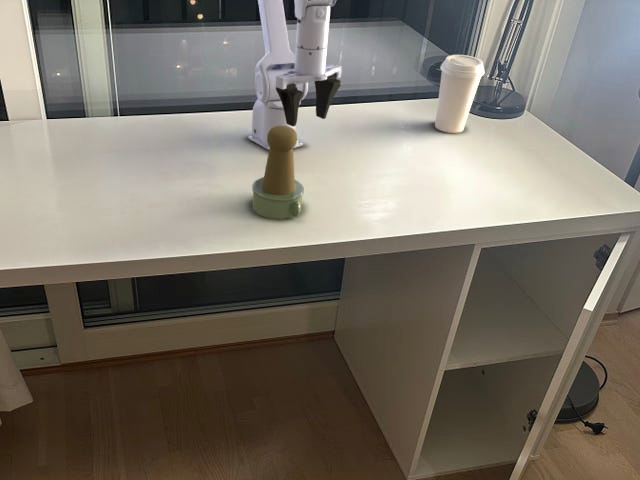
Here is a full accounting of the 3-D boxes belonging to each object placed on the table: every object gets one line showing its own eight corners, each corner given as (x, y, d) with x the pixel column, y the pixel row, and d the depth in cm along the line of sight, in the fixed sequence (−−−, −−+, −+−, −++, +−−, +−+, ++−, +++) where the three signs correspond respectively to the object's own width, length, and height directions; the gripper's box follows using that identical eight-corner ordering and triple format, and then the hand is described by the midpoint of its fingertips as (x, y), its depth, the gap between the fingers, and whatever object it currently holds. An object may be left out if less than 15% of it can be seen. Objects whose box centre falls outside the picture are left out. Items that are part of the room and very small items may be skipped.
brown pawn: (292, 197, 125) (297, 137, 118) (259, 192, 126) (262, 133, 119) (297, 182, 130) (302, 123, 122) (265, 178, 130) (268, 119, 123)
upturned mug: (241, 203, 131) (241, 183, 128) (280, 190, 135) (281, 171, 133) (276, 227, 125) (278, 207, 122) (316, 213, 129) (318, 193, 127)
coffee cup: (423, 119, 166) (436, 53, 157) (462, 119, 167) (477, 53, 158) (435, 135, 159) (450, 67, 149) (475, 135, 160) (493, 67, 150)
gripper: (295, 56, 121) (290, 134, 129) (355, 45, 128) (347, 119, 137) (269, 47, 125) (266, 123, 134) (329, 37, 133) (323, 109, 141)
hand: (306, 120), depth 135 cm, fingers open, 7 cm apart
